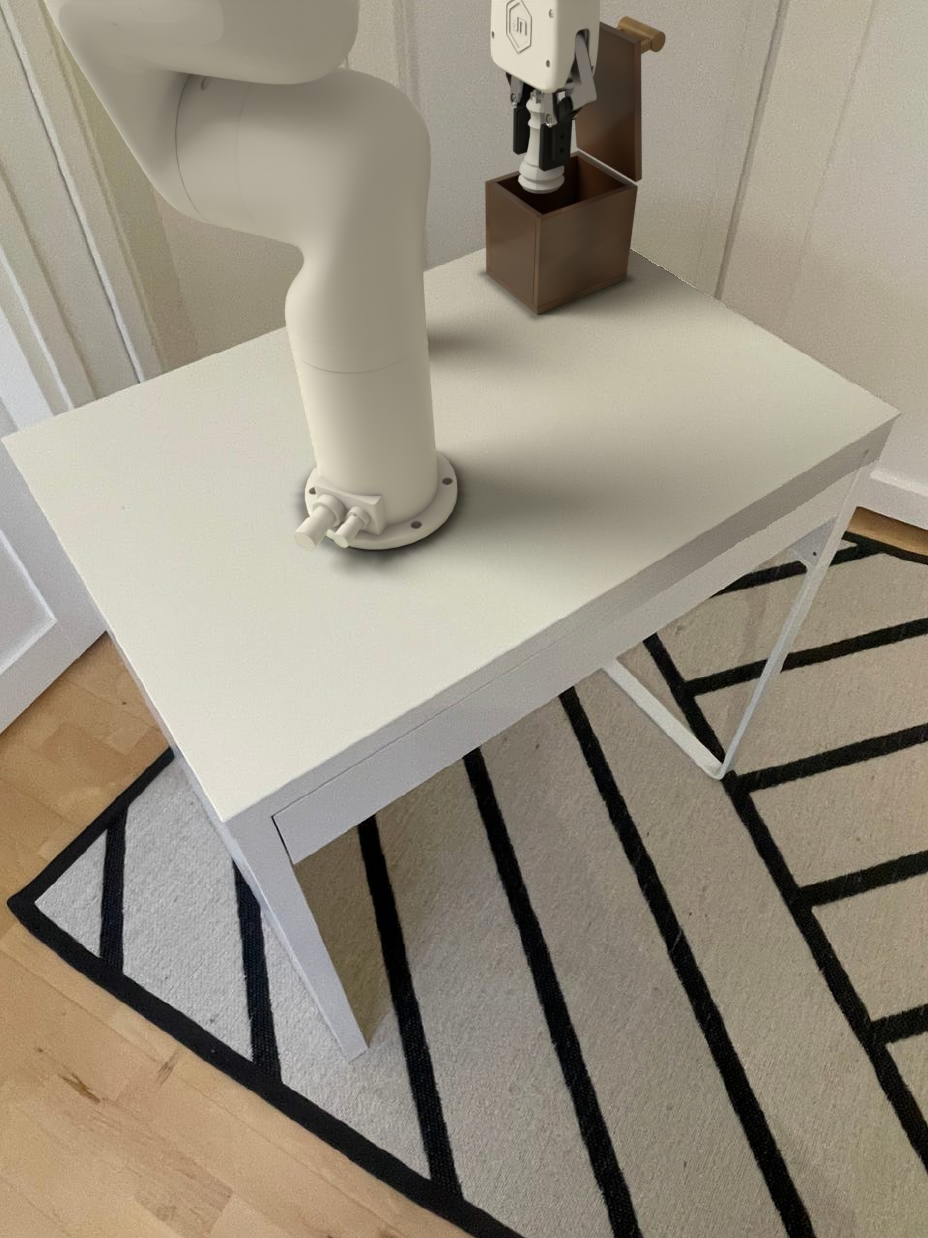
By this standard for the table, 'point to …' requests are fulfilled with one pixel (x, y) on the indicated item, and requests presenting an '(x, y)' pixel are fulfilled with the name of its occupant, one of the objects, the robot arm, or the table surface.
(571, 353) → the table surface
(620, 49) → the lid
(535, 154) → the rook chess piece
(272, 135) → the robot arm
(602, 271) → the chest
